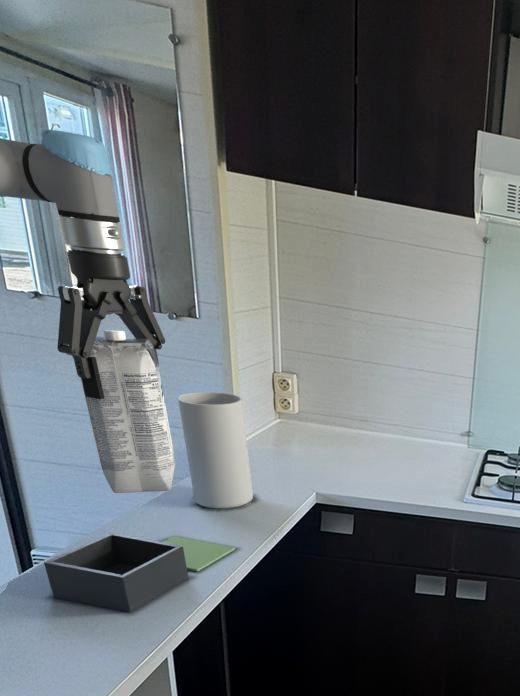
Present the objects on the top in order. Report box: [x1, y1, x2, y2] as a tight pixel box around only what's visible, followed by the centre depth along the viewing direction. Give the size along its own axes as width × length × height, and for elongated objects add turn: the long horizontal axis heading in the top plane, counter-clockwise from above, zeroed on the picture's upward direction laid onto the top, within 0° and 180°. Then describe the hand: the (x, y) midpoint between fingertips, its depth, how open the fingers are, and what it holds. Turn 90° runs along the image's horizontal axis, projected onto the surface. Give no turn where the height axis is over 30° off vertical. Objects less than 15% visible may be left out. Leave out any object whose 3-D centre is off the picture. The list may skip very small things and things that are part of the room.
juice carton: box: [80, 329, 176, 494], centre depth 109 cm, size 9×10×27 cm
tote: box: [43, 532, 190, 613], centre depth 113 cm, size 15×14×7 cm
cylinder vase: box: [177, 391, 254, 509], centre depth 149 cm, size 12×12×25 cm
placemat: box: [162, 535, 236, 572], centre depth 128 cm, size 14×11×1 cm
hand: (125, 391), depth 107 cm, fingers closed on juice carton, 11 cm apart
